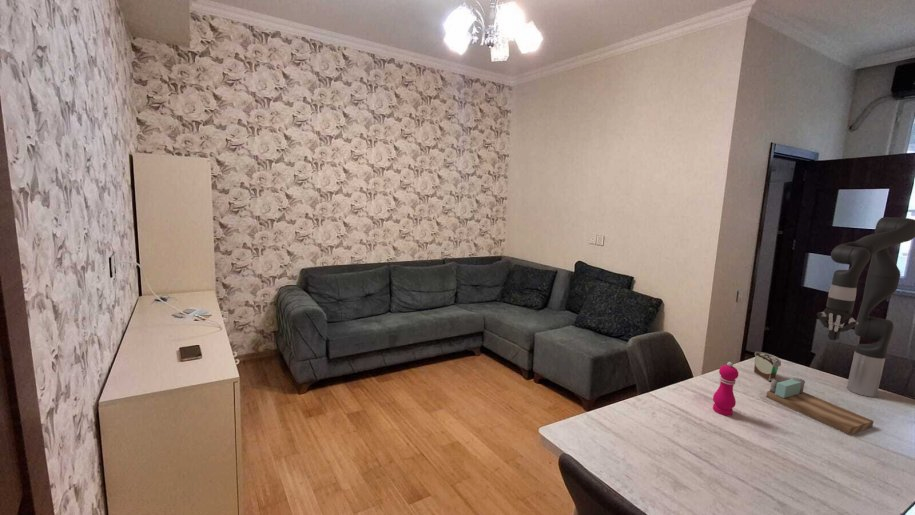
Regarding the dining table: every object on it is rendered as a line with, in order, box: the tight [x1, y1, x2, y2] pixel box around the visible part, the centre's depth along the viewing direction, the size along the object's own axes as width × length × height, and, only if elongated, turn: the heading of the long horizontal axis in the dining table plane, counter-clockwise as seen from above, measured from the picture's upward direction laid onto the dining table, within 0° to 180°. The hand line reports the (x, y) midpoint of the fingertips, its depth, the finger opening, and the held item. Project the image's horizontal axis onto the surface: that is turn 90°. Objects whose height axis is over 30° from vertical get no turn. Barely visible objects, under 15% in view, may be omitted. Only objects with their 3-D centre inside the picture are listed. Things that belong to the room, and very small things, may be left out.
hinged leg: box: [775, 377, 806, 398], centre depth 162 cm, size 14×4×5 cm, turn 114°
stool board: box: [765, 379, 875, 436], centre depth 154 cm, size 15×27×8 cm, turn 21°
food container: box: [753, 351, 782, 383], centre depth 182 cm, size 12×6×10 cm, turn 179°
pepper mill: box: [712, 361, 739, 417], centre depth 150 cm, size 7×7×20 cm
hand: (832, 339), depth 156 cm, fingers closed
